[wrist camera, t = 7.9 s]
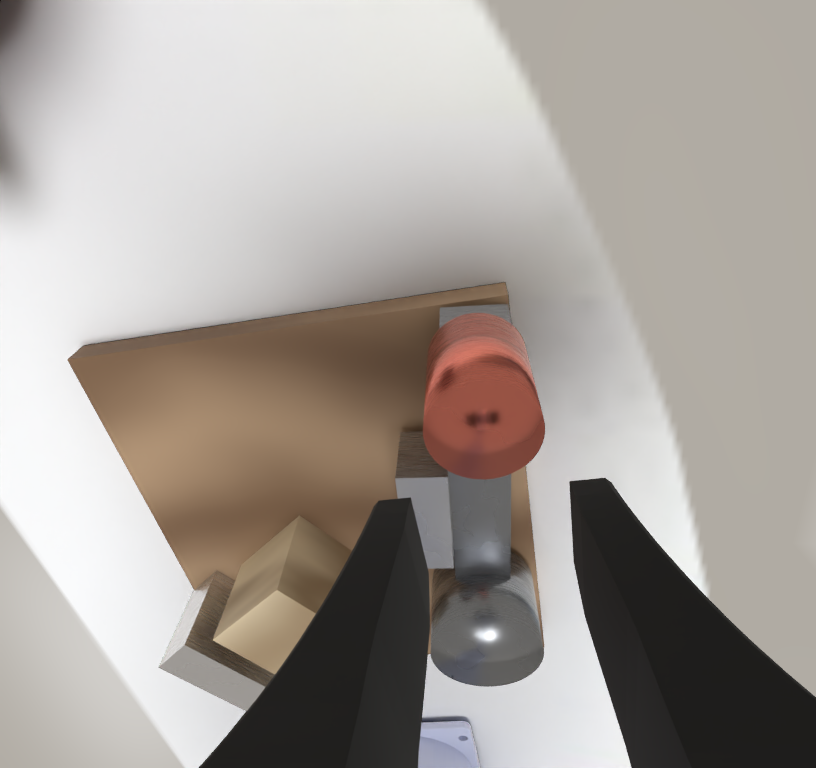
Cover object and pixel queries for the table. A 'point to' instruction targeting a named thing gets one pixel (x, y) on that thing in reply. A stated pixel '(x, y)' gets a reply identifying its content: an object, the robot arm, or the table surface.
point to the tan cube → (280, 593)
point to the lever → (475, 495)
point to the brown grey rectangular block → (212, 649)
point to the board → (276, 423)
